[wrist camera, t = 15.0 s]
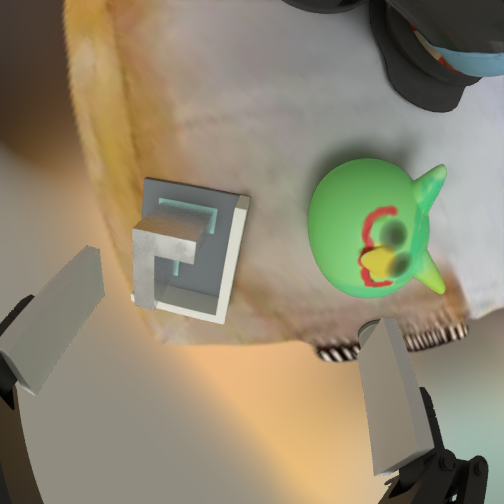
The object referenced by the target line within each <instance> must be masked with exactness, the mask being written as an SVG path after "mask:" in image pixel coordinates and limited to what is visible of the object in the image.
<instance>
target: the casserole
mask: <svg viewBox="0 0 504 504" xmlns="http://www.w3.org/2000/svg"><path fill="white" fill-rule="evenodd" d="M369 12H370V22H371V26H372V29H373V33H374V35H375V37H376V39H377V42H378V44H379V46H380V48H381V50H382V53H383V55H384V58H385V62H386V67H387V71H388V75H389V80H390V82H391V83H392V85H393V87H394V88H395V90H396V91H397V92H398V93H399V94H400V95H401V96H402V97H403V98H405V99H406V100H408V101H409V102H411V103H412V104H414V105H416V106H418V107H420V108H422V109H424V110H428V111H432V112H443V113H444V112H449V111H452V110H453V109H454V108H456V107H457V106H458V103H459V101H460V99H461V97H462V94H463V91H464V89H465V87H466V86H470V85H473V84H475V83H477V82H478V81H479V80H480V79H481V78H483V77H476V76H470V75H466V74H464V73H462V72H460V71H458V70H456V69H454V68H453V67H452V66H450V65H449V64H448V62H447V61H446V60H445V59H444V58H443V57H442V56H441V55H440V54H439V53H438V51H437V50H436V49H434V48H433V47H431V46H430V45H429V44H428V43H427V42H426V41H425V40H424V37H423V36H422V35H421V34H420V33H419V32H418V31H417V30H416V29H415V28H414V27H413V26H412V25H411V24H410V23H409V22H408V21H407V20H406V19H405V18H404V17H403V16H402V15H401V14H400V13H399V12H398V11H396V10H395V9H394V8H393V7H392V6H391V5H390V4H388V3H387V2H386V1H385V0H371V4H370V10H369Z"/></svg>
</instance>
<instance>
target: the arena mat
mask: <svg viewBox="0 0 504 504" xmlns="http://www.w3.org/2000/svg"><path fill="white" fill-rule="evenodd" d="M239 197H240V195H238V194H233V193H228V192H223V191H218V190H213V189H208V188H203V187H198V186H192V185H187V184H181V183H176V182H170V181H164V180H158V179H152V178H145V179H144V190H143V208H142V219H143V218H144V217H145V216H146V215H148V214H149V213H150V212H151V211H152V210H153V209H154V208H155V207H156V206H158V205H159V204H160V203H161V202H162V201H163V202H169V203H174V204H179V205H184V206H189V207H194V208H199V209H204V210H209V211H214V215H213V221H212V228H211V231H210V233H209V235H208V237H207V239H206V241H205V243H204V245H203V247H202V249H201V251H200V253H199V255H198V257H197V259H196V261H195V263H194V265H193V264H189V263H184V262H180V261H176V269H175V274H174V276H173V278H172V279H171V281H170V283H169V286H173V287H177V288H181V289H185V290H190V291H194V292H198V293H202V294H206V295H211V296H215V297H219V294H220V288H221V282H222V276H223V271H224V265H225V259H226V254H227V248H228V242H229V237H230V232H231V226H232V221H233V215H234V210H235V206H236V204H237V202H238V199H239Z"/></svg>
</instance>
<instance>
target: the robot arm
mask: <svg viewBox="0 0 504 504" xmlns="http://www.w3.org/2000/svg"><path fill="white" fill-rule="evenodd" d="M282 1H284V2H286V3H287V4H289V5H291V6H294V7H296V8H299V9H302V10H305V11H309V12H314V13H324V14H332V13H340V12H345V11H348V10H351V9H353V8H355V7H356V6H358V5H359V4H360V3H362V2H363V0H282ZM385 1H386V2H387V3H388V4H390V5H391V6H392V7H393V8H394V9H395V10H396V11H398V12H399V13H400V14H401V15H402V16H403V17H404V18H405V19H406V20H407V21H408V22H409V23H410V24H411V25H412V26H413V27H414V28H415V29H416V30H417V31H418V32H419V33H420V34H421V35H422V36H423V37H424V40H425V41H426V42H427V43H428V44H429V45H430V46H431V47H433V48H434V49H436V50H437V51H438V53H439V54H440V55H441V56H442V57H443V58H444V59H445V60H446V61H447V62H448V64H449V65H450V66H452V67H453V68H454V69H456V70H458V71H460V72H462V73H464V74H466V75H470V76H476V77H493V76H500V75H504V0H385ZM104 296H105V293H104V286H103V277H102V268H101V258H100V250H99V249H97V248H94V247H90V246H86V247H84V248H83V249H82V250H81V251H80V252H79V253H78V254H77V255H76V256H75V257H74V258H73V259H72V260H71V261H70V262H69V263H68V264H67V265H65V267H63V268H62V270H60V271H59V272H58V273H57V274H56V275H55V276H54V277H53V278H52V279H51V280H50V281H49V283H47V285H46V286H45V287H44V288H43V289H42V290H41V291H40V292H39V293H38V294H37V295H36V296H33V295H29V296H27V297H26V298H24V299H22V300H21V301H20V302H19V303H18V304H17V305H16V306H15V308H14V310H12V311H11V312H10V313H9V314H8V316H6V318H5V319H4V320H3V321H2V322H1V324H0V504H44V503H43V501H42V498H41V495H40V492H39V489H38V487H37V484H36V481H35V478H34V474H33V471H32V467H31V464H30V460H29V457H28V452H27V448H26V444H25V439H24V435H23V429H22V424H21V418H20V411H19V404H18V396H17V389H16V386H15V383H16V382H17V380H18V381H19V383H20V384H21V386H22V387H23V388H24V389H25V390H27V391H28V392H30V393H31V394H33V395H35V396H37V395H38V393H39V391H40V390H41V388H42V386H43V384H44V383H45V381H46V380H47V378H48V376H49V375H50V373H51V372H52V370H53V368H54V367H55V365H56V364H57V362H58V361H59V359H60V358H61V356H62V355H63V353H64V352H65V350H66V349H67V347H68V346H69V344H70V343H71V341H72V340H73V338H74V337H75V336H76V334H77V332H78V331H79V330H80V328H81V327H82V326H83V324H84V323H85V321H86V320H87V318H88V317H89V316H90V315H91V313H92V312H93V310H94V309H95V307H96V306H97V305H98V304H99V302H100V301H101V300H102V298H103V297H104ZM357 358H358V363H359V368H360V374H361V379H362V386H363V392H364V398H365V404H366V411H367V418H368V425H369V433H370V441H371V450H372V460H373V471H374V476H380V475H389V474H391V473H393V472H395V471H397V470H399V475H398V476H396V477H394V478H392V479H390V480H388V481H386V482H385V485H388V484H390V483H392V484H391V485H390V486H389V488H388V490H387V491H386V493H385V494H384V496H383V497H382V499H381V500H380V502H379V503H378V504H484V499H485V493H486V487H487V479H488V464H487V461H486V460H485V458H484V457H482V456H475V457H474V458H472V459H470V460H469V461H466V460H461V459H456V457H455V455H454V454H453V453H452V452H451V451H450V450H447V449H445V448H444V445H443V441H442V437H441V433H440V429H439V425H438V421H437V418H436V417H435V416H436V414H435V411H434V409H433V403H432V400H431V397H430V395H429V394H428V392H427V391H426V389H425V388H424V387H419V386H418V382H417V379H416V376H415V373H414V370H413V367H412V364H411V361H410V358H409V355H408V352H407V349H406V346H405V343H404V340H403V338H402V335H401V332H400V330H399V327H398V324H397V322H396V319H392V318H386V317H382V318H381V320H380V321H379V323H378V325H377V326H376V328H375V329H374V331H373V332H372V334H371V335H370V337H369V338H368V340H367V341H366V343H365V344H364V346H363V347H362V349H361V350H360V352H359V353H358V355H357ZM456 494H457V497H456V500H455V501H452V497H453V496H454V495H456Z"/></svg>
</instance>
